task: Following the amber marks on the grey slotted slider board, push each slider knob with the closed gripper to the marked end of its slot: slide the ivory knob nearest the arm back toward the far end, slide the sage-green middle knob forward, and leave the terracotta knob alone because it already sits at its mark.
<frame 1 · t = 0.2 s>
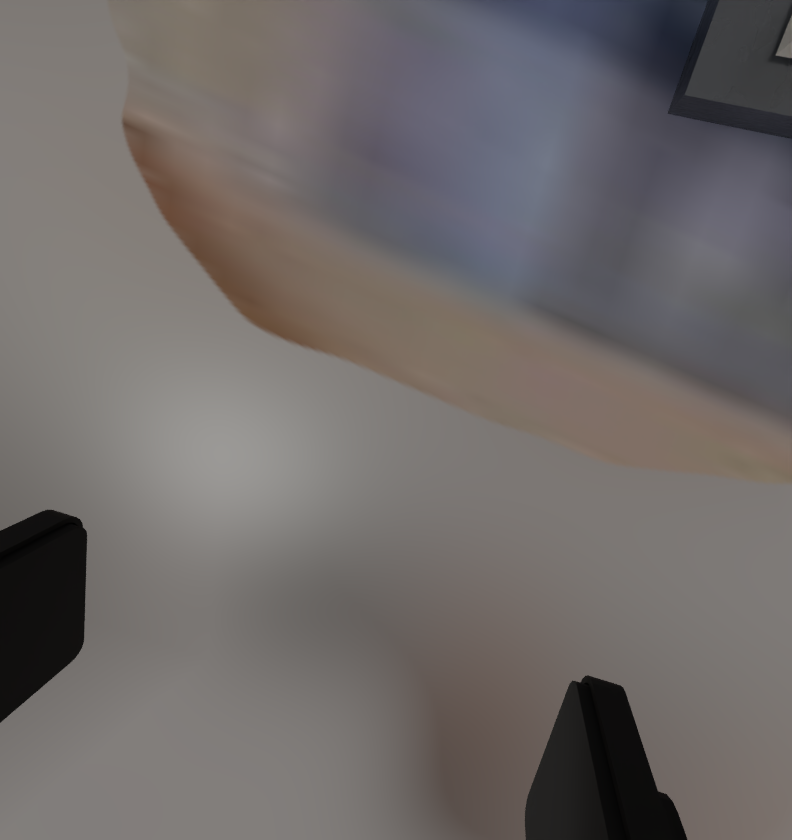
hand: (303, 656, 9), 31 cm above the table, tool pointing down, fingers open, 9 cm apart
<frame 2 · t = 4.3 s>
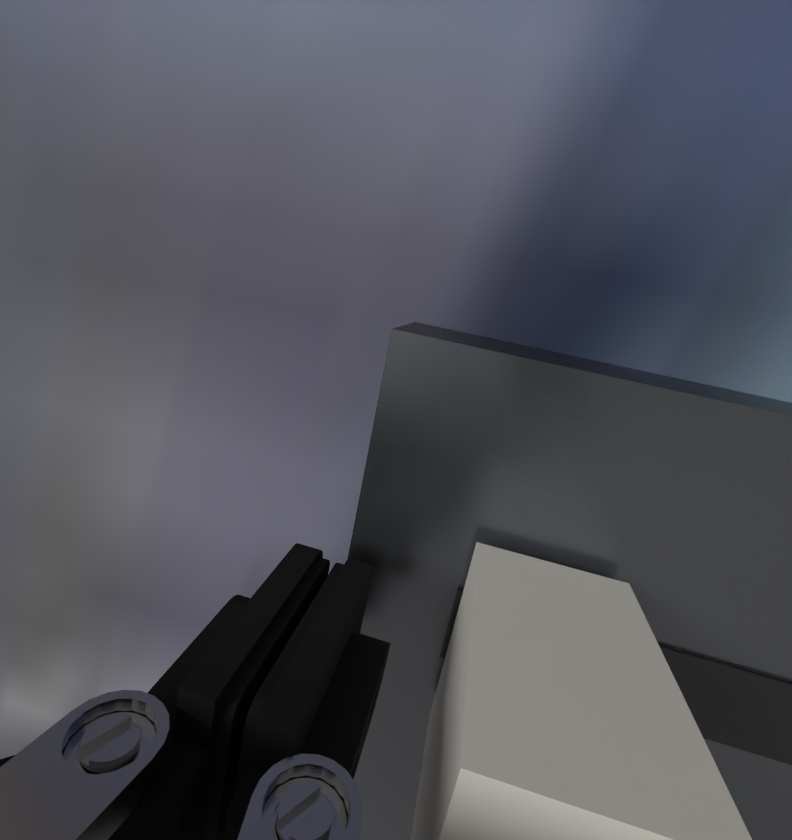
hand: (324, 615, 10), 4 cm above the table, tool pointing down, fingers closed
slider ivory: (529, 762, 8), point 6 cm above the table, slide at 7.9 cm, touching gripper
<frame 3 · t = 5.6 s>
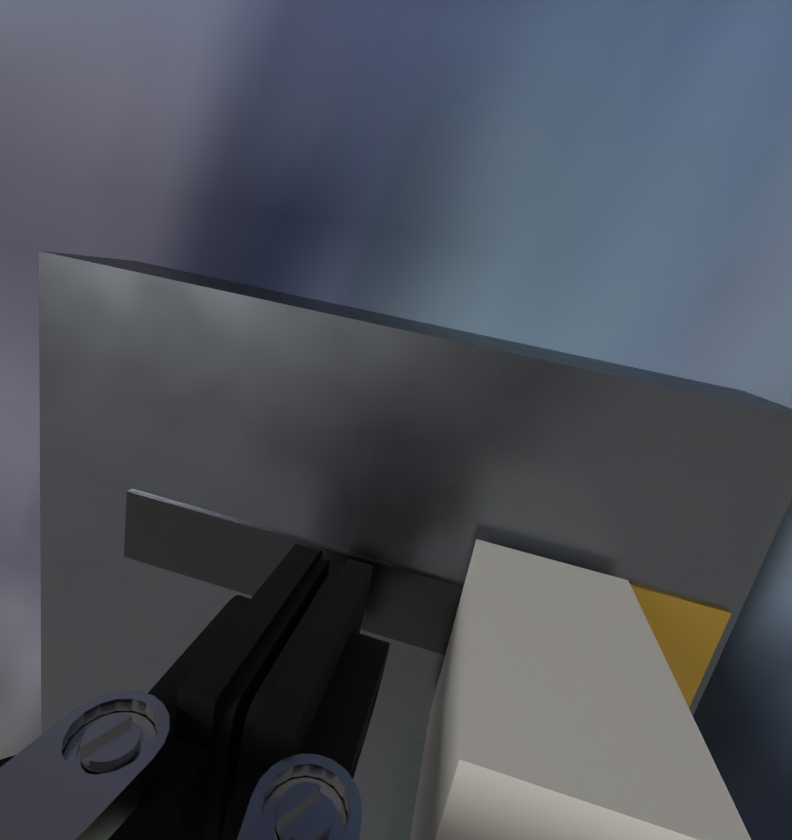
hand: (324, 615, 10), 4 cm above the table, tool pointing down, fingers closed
slider ivory: (529, 756, 8), point 6 cm above the table, slide at -0.2 cm, touching gripper
grey slotted slider board: (315, 805, 17), on the table
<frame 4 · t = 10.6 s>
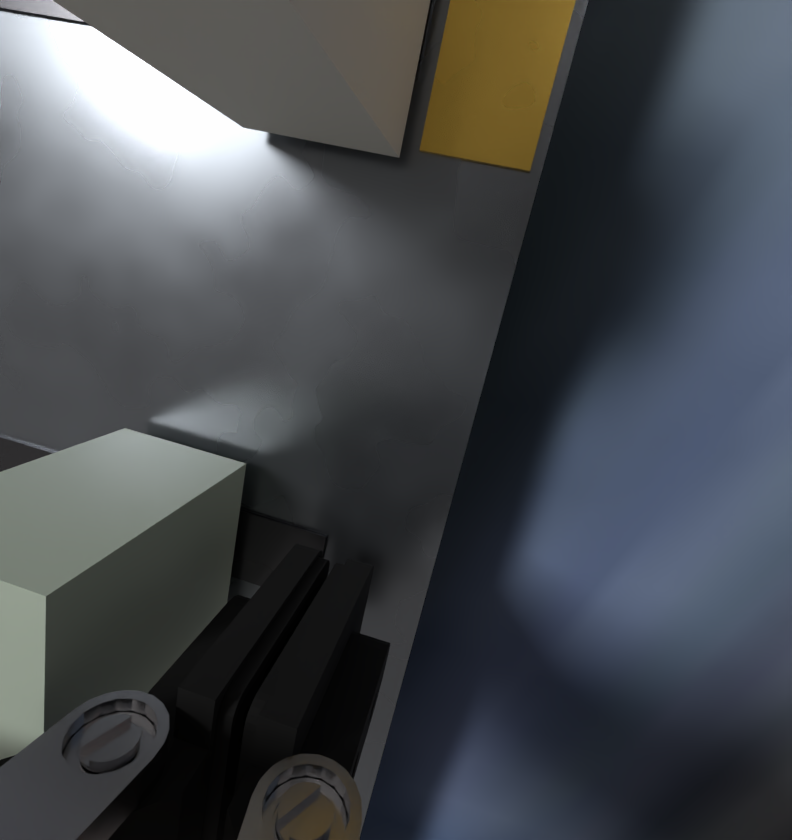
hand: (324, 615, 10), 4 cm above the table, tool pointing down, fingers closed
slider sage: (92, 595, 9), point 6 cm above the table, slide at 2.0 cm, touching gripper
grey slotted slider board: (186, 464, 15), on the table
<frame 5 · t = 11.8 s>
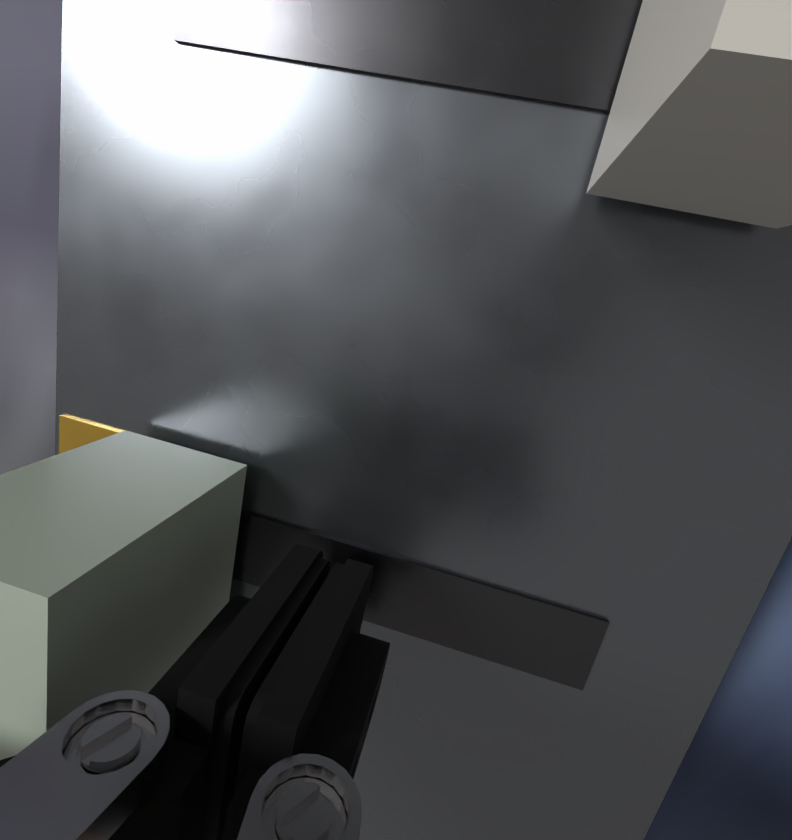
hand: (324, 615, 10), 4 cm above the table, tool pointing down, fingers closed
slider sage: (93, 597, 9), point 6 cm above the table, slide at 8.3 cm, touching gripper
grey slotted slider board: (382, 523, 14), on the table
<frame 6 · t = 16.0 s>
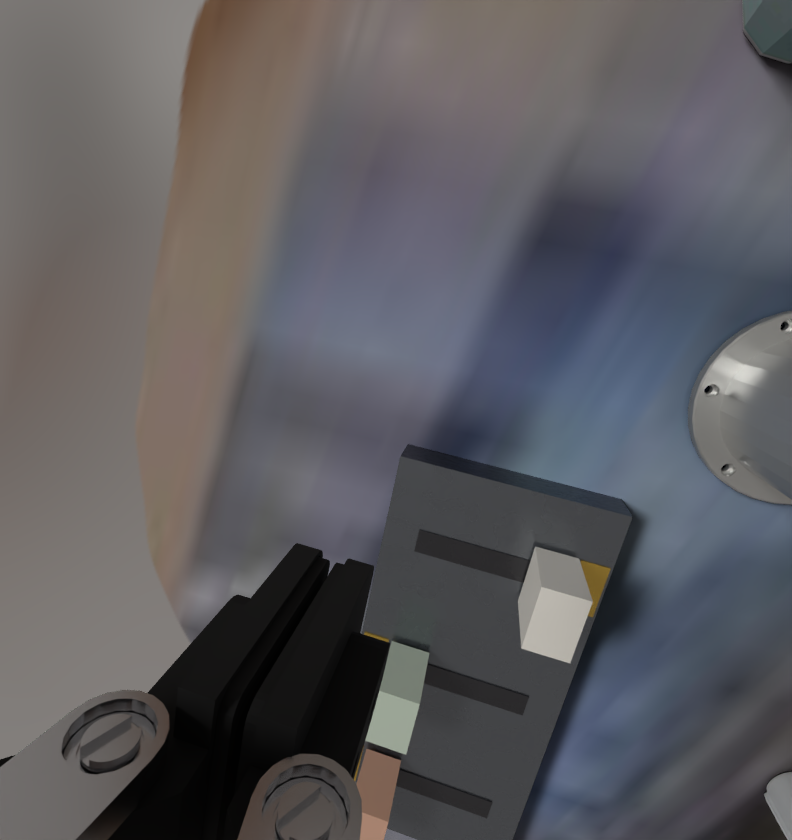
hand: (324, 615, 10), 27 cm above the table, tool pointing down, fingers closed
slider ivory: (551, 601, 32), point 6 cm above the table, slide at 0.0 cm
slider sage: (398, 694, 36), point 6 cm above the table, slide at 8.0 cm
grey slotted slider board: (458, 656, 41), on the table
slider terracotta: (371, 803, 39), point 6 cm above the table, slide at 8.0 cm
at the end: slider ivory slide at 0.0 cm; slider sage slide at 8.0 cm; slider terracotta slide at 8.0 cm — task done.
